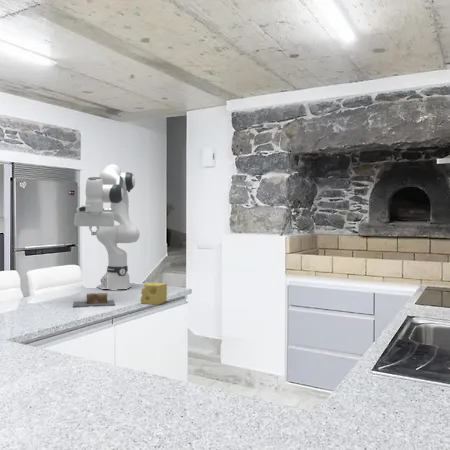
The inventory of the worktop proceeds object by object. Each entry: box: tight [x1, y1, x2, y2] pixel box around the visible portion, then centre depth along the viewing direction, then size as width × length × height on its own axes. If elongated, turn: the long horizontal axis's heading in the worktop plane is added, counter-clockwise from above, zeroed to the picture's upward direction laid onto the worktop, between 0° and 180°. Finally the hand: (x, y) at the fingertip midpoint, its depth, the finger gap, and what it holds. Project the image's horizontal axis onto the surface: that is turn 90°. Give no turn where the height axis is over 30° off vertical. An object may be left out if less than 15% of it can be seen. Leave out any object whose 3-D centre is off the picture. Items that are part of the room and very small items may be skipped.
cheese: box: [140, 281, 168, 306], centre depth 240 cm, size 10×11×10 cm
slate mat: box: [72, 299, 116, 308], centre depth 233 cm, size 20×12×1 cm, turn 107°
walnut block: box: [86, 292, 108, 304], centre depth 233 cm, size 4×4×10 cm
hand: (94, 235), depth 238 cm, fingers closed
